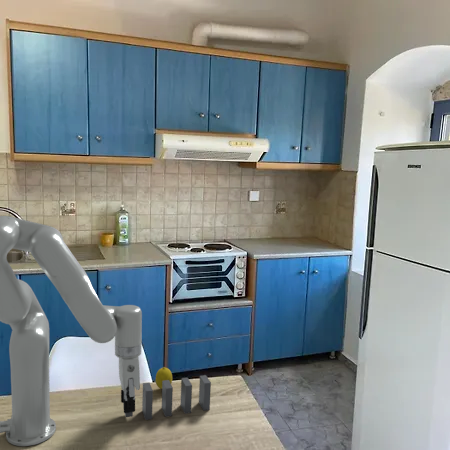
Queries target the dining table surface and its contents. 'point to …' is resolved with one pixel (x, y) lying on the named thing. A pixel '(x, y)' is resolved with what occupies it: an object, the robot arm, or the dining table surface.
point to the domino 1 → (123, 405)
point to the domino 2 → (147, 401)
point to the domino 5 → (204, 392)
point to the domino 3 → (167, 398)
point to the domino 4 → (186, 395)
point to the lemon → (163, 376)
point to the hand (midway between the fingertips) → (127, 406)
